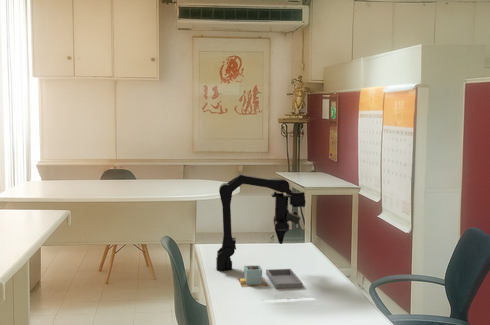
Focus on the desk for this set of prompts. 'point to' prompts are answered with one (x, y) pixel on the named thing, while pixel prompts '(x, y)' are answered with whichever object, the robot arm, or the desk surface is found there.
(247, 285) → the stake
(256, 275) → the sleeve
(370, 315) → the desk surface
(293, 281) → the tray
